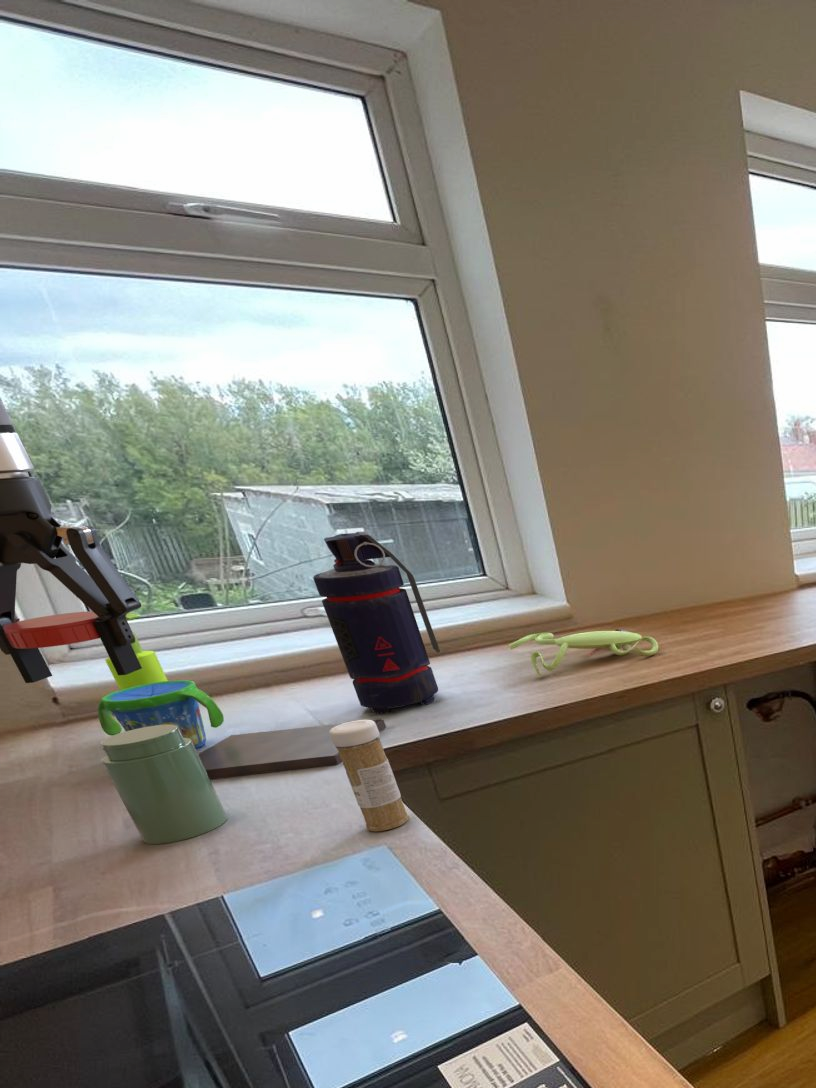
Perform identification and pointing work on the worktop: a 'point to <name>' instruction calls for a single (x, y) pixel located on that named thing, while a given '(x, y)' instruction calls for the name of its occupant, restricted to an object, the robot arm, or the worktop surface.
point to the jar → (162, 783)
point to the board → (273, 751)
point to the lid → (52, 630)
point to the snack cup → (159, 709)
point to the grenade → (376, 624)
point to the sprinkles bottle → (369, 774)
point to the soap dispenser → (148, 662)
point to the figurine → (587, 644)
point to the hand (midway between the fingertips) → (85, 675)
